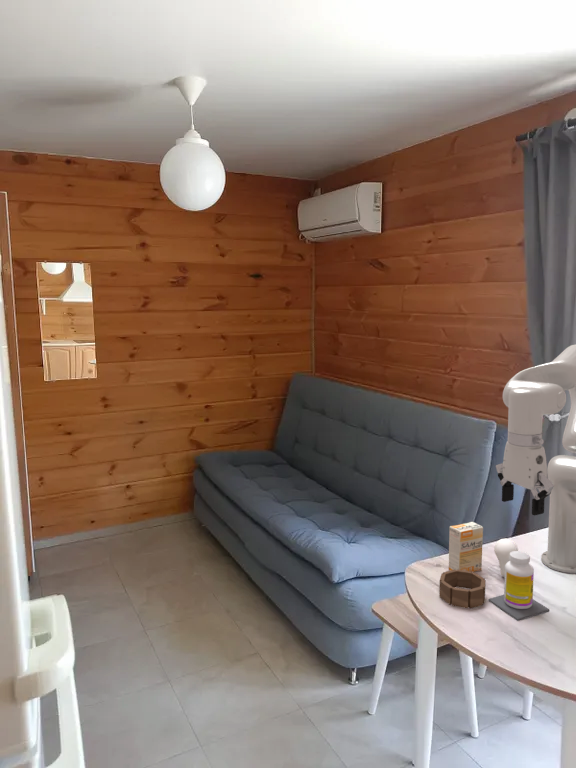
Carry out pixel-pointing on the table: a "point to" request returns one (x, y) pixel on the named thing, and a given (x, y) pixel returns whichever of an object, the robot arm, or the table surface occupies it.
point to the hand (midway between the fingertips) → (522, 507)
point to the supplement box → (465, 547)
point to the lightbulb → (504, 552)
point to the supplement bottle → (518, 581)
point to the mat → (518, 613)
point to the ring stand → (462, 596)
